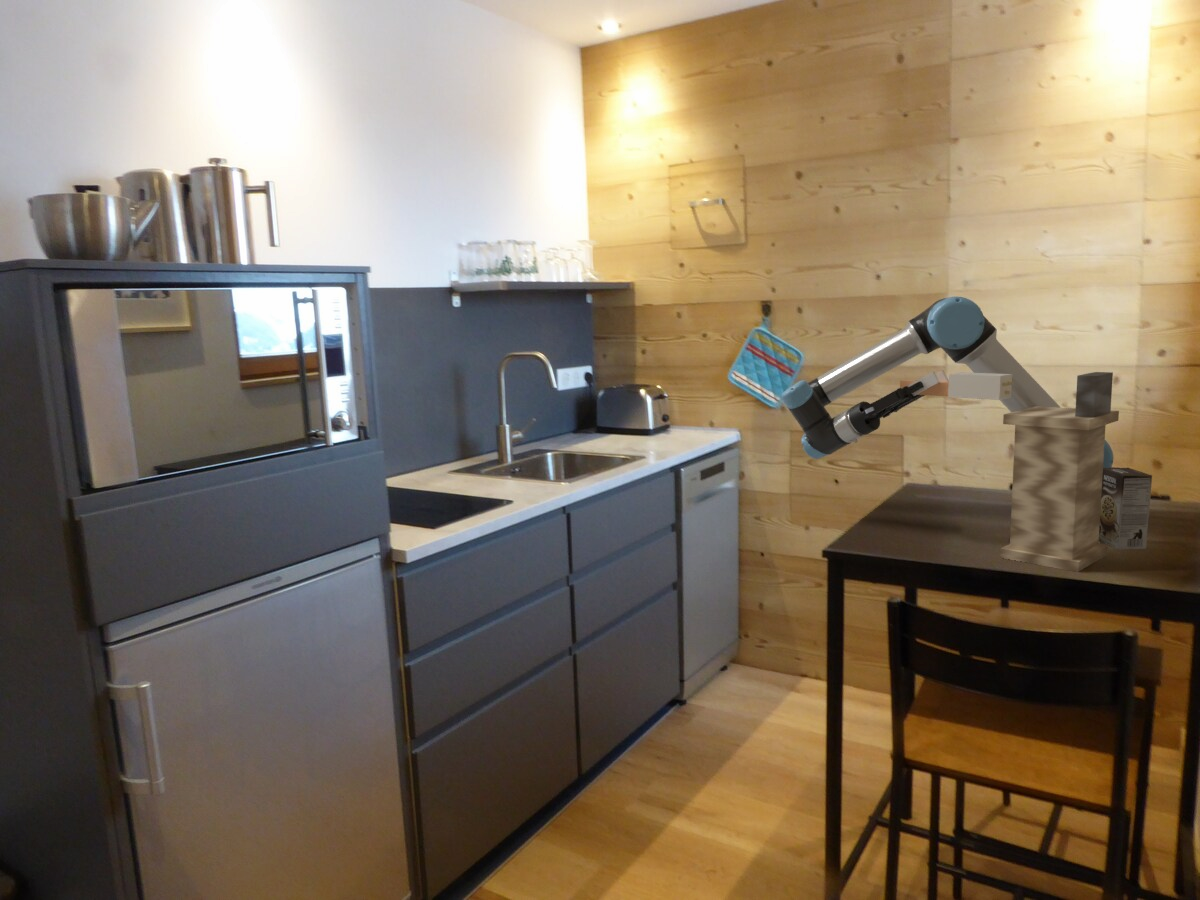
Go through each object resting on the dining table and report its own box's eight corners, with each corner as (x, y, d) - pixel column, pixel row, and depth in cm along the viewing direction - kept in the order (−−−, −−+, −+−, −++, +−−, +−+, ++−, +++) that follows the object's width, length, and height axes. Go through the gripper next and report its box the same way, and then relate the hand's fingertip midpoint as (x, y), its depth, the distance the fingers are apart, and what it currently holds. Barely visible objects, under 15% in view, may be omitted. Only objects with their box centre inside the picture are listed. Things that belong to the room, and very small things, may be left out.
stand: (997, 557, 181) (1005, 374, 176) (1029, 541, 193) (1038, 369, 187) (1080, 572, 170) (1091, 377, 164) (1110, 554, 181) (1121, 371, 175)
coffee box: (1094, 538, 193) (1098, 467, 191) (1123, 538, 193) (1128, 466, 191) (1117, 550, 184) (1121, 475, 182) (1148, 549, 184) (1153, 474, 182)
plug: (896, 394, 199) (897, 372, 198) (909, 392, 203) (910, 370, 202) (1003, 400, 182) (1004, 376, 181) (1014, 397, 186) (1016, 374, 185)
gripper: (882, 431, 215) (965, 388, 199) (845, 439, 204) (930, 394, 188) (869, 404, 217) (950, 359, 201) (832, 411, 206) (915, 363, 189)
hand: (940, 376), depth 194 cm, fingers closed on plug, 4 cm apart
